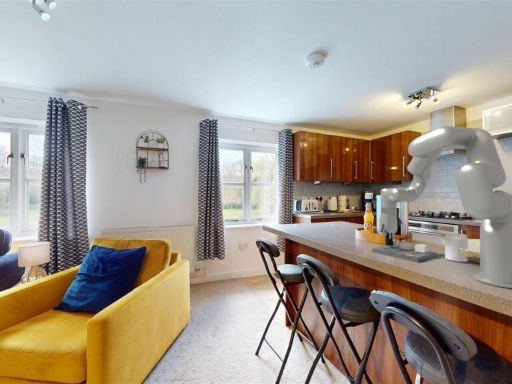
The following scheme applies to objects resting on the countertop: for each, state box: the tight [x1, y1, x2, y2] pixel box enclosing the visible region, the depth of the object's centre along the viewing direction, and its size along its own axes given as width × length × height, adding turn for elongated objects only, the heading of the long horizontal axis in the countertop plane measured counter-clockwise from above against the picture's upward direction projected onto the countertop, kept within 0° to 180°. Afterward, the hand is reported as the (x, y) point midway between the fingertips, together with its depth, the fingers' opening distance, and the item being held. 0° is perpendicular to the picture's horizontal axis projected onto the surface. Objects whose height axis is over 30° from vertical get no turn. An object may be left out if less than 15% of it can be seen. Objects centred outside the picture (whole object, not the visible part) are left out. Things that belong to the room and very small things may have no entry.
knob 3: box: [414, 242, 430, 253], centre depth 119 cm, size 4×4×4 cm
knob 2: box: [399, 240, 414, 250], centre depth 125 cm, size 4×4×4 cm
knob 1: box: [391, 238, 400, 247], centre depth 131 cm, size 4×4×4 cm
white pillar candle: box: [444, 232, 469, 263], centre depth 111 cm, size 8×8×12 cm
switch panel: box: [371, 245, 437, 263], centre depth 123 cm, size 22×18×2 cm
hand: (389, 245), depth 129 cm, fingers closed
